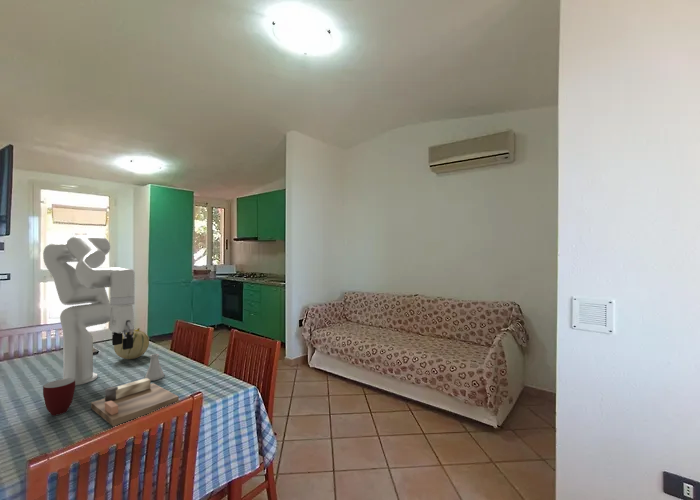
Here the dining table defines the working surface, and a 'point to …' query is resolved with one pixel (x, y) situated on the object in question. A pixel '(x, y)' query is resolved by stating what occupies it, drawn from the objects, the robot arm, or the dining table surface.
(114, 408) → the leg stop
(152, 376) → the flask
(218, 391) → the dining table surface
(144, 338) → the cantaloupe
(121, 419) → the stool seat board
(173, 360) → the dining table surface
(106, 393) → the folding leg
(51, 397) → the mug
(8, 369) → the dining table surface
